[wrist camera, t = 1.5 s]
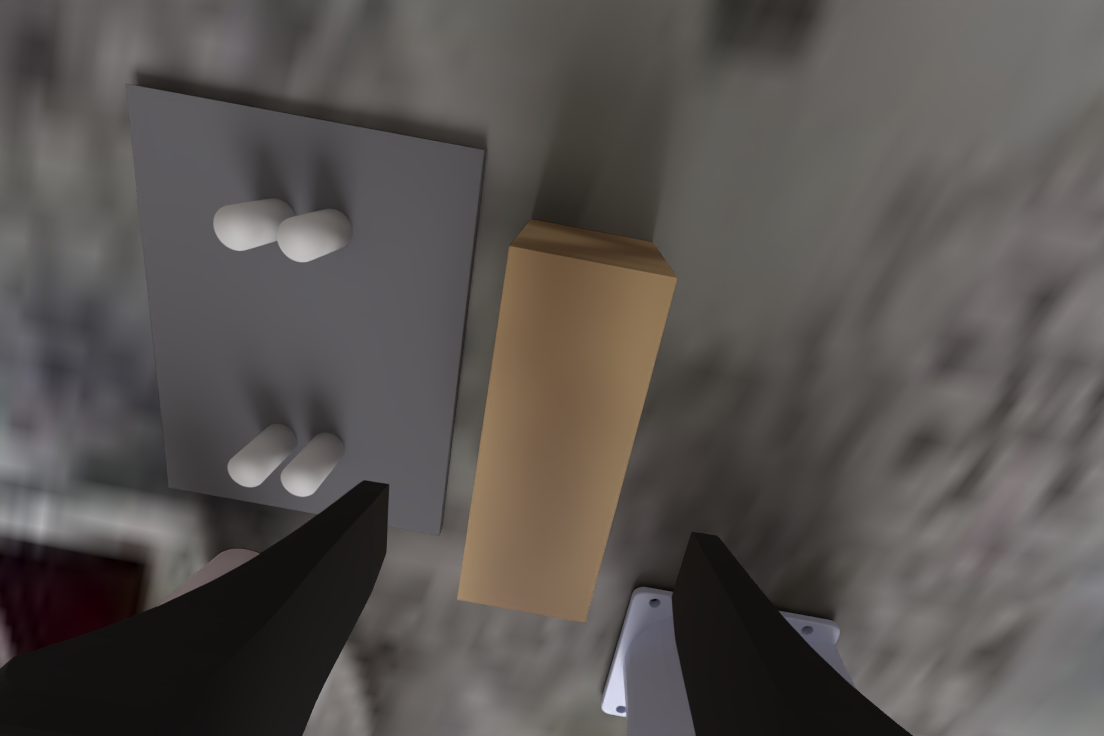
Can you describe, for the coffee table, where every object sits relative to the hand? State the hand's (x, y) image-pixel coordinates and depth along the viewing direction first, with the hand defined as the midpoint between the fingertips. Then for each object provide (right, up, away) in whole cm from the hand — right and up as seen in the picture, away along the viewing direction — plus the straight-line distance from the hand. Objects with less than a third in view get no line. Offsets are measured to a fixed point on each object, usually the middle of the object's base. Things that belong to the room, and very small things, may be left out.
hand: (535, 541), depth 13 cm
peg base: (-9, +5, +9) cm, 14 cm away
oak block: (+1, +4, +9) cm, 10 cm away
